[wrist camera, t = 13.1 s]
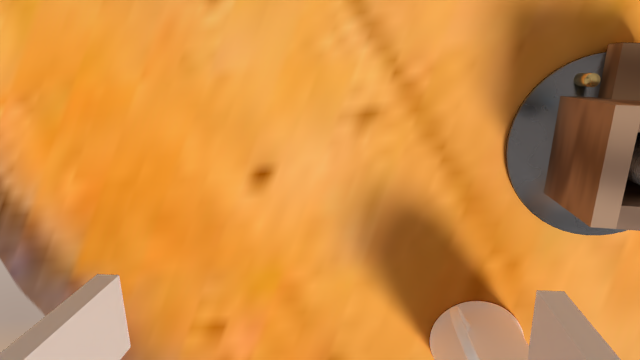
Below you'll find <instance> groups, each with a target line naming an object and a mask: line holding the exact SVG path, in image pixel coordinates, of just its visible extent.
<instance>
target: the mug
mask: <svg viewBox="0 0 640 360" xmlns="http://www.w3.org/2000/svg"><path fill="white" fill-rule="evenodd" d="M430 349H431V352H432V355H433V357H434V359H435V360H527V359H528V352H529V346H528V344H527V342H526V340H525V338H524V335H523V331H522V328H521V326H520V324H519V322H518V321H517V319H516V318H515V317H514V316H513V315H512V314H511V313H510V312H509V311H507V310H506V309H504V308H503V307H501V306H499V305H496V304H493V303H490V302H485V301H469V302H464V303H460V304H458V305H455V306H453V307H451V308H449V309H448V310H446V311H445V312H444V313H443V314H442V315H441V316H440V317H439V318H438V319H437V320H436V322H435V324H434V325H433V328H432V330H431V334H430Z"/></svg>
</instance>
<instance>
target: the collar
mask: <svg viewBox="0 0 640 360" xmlns="http://www.w3.org/2000/svg"><path fill="white" fill-rule="evenodd" d="M638 132H640V43H614V44H608V48H607V54H606V59H605V64H604V69H603V74H602V79H601V84H600V89H599V94H598V97H573V96H560V102H559V107H558V113H557V119H556V125H555V130H554V136H553V142H552V148H551V153H550V159H549V165H548V171H547V177H546V182H545V188H544V194H546V195H547V196H549V197H550V198H551V199H553V200H554V201H555V202H557V203H558V204H559V205H561V206H562V207H564V208H565V209H566V210H568V211H569V212H570V213H572V214H573V215H574V216H576V217H577V218H578V219H580V220H581V221H583V222H584V223H585V224H587V225H588V226H589V227H594V228H609V229H624V230H640V185H639V184H636V183H634V182H632V181H630V180H627V178H628V173H629V169H630V164H631V160H632V155H633V151H634V147H635V142H636V138H637V133H638ZM639 138H640V133H639Z"/></svg>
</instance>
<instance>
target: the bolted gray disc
mask: <svg viewBox="0 0 640 360" xmlns="http://www.w3.org/2000/svg"><path fill="white" fill-rule="evenodd" d="M606 54H607V52H604V53H598V54H593V55H589V56H586V57H582V58H580V59H577V60H575V61H573V62H570V63H568V64H566V65H564V66H563V67H561V68H559V69H557V70H556V71H554V72H553V73H551V74H550V75H549V76H547V77H546V78H545V79H544V80H543V81H541V82H540V83H539V84H538V85H537V86H536V87H535V88H534V89H533V90H532V91H531V93H530V94H529V95H528V96H527V97H526V99H525V100H524V102H523V103H522V105H521V106H520V108H519V109H518V111H517V113H516V115H515V117H514V119H513V122H512V125H511V128H510V130H509V135H508V139H507V146H506V165H507V170H508V175H509V178H510V181H511V184H512V186H513V188H514V190H515V192H516V194H517V196H518V197H519V199H520V200H521V201H522V203H523V204H524V205H525V206H526V207H527V208H528V209H529V210H530V211H531V212H532V213H533V214H534V215H536V216H537V217H538V218H540V219H541V220H542V221H544V222H546V223H547V224H549V225H551V226H553V227H555V228H558V229H561V230H563V231H567V232H571V233H575V234H582V235H606V234H614V233H618V232H623V231H626V230H624V229H609V228H594V227H589V226H588V225H587V224H585V223H584V222H583V221H581V220H580V219H578V218H577V217H576V216H574V215H573V214H572V213H570V212H569V211H568V210H566V209H565V208H564V207H562V206H561V205H559V204H558V203H557V202H555V201H554V200H553V199H551V198H550V197H549V196H547V195H546V194H544V188H545V182H546V177H547V171H548V165H549V159H550V153H551V148H552V142H553V136H554V130H555V125H556V119H557V113H558V107H559V102H560V96H573V97H598V94H599V89H600V84H601V79H602V74H603V69H604V64H605V59H606ZM639 133H640V132H638V133H637V138H636V142H635V147H634V151H633V155H632V160H631V164H630V169H629V173H628V178H627V180H630V181H632V182H634V183H636V184H639V185H640V138H639Z"/></svg>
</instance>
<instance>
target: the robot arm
mask: <svg viewBox="0 0 640 360" xmlns="http://www.w3.org/2000/svg"><path fill="white" fill-rule="evenodd" d="M130 347H131V346H130V339H129V333H128V327H127V321H126V315H125V309H124V303H123V297H122V290H121V284H120V278H119V275H101V274H97V275H96V276H94V277H93V278H92V279H91V280H90V281H88V282H87V283H86V284H85V285H83V286H82V287H81V288H80V289H78V290H77V291H76V292H75V293H74V294H72V295H71V296H70V297H69V298H67V299H66V300H65V301H64V302H62V303H61V304H60V305H59V306H58V307H56V308H55V309H54V310H53V311H51V312H50V313H49V314H48V315H46V316H45V317H44V318H43V319H42V320H40V321H39V322H38V323H37V324H35V325H34V326H33V327H32V328H30V329H29V330H28V331H27V332H26V333H24V334H23V335H22V336H21V337H19V338H18V339H17V340H16V341H14V342H13V343H12V344H11V345H10V346H8V347H7V348H6V349H5V350H3V351H2V352H1V353H0V360H120V359H121V358H122V357H123V356H124V354H125V353H126V352H127V351H128V349H129V348H130ZM527 360H621V359H620V358H619V357H618V356H617V355H616V353H615V352H614V351H613V350H612V349H611V347H610V346H609V345H608V344H607V343H606V341H605V340H604V339H603V338H602V337H601V335H600V334H599V333H598V332H597V331H596V329H595V328H594V327H593V326H592V325H591V323H590V322H589V321H588V320H587V319H586V317H585V316H584V315H583V314H582V313H581V311H580V310H579V309H578V308H577V306H576V305H575V304H574V303H573V302H572V300H571V299H570V298H569V297H568V296H567V294H566V293H565V292H564V291H538V290H537V293H536V300H535V307H534V315H533V322H532V330H531V337H530V344H529V352H528V359H527Z"/></svg>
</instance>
